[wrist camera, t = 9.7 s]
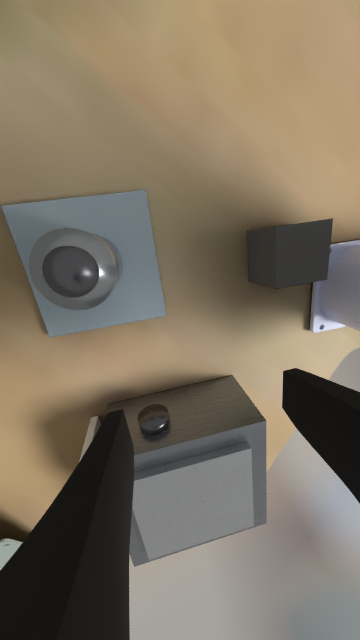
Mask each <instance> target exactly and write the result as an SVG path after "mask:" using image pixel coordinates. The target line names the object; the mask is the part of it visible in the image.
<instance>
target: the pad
mask: <svg viewBox="0 0 360 640" xmlns="http://www.w3.org/2000/svg"><path fill="white" fill-rule="evenodd" d="M1 207H2V210H3V212H4V215H5V218H6V220H7V223H8V226H9V229H10V231H11V234H12V237H13V239H14V242H15V245H16V248H17V250H18V253H19V256H20V258H21V261H22V264H23V266H24V269H25V272H26V275H27V277H28V280H29V283H30V285H31V288H32V291H33V294H34V296H35V299H36V302H37V304H38V307H39V310H40V312H41V315H42V318H43V321H44V323H45V326H46V329H47V331H48V334H49V337H55V336H61V335H66V334H71V333H77V332H82V331H87V330H93V329H98V328H103V327H109V326H114V325H119V324H125V323H130V322H136V321H141V320H146V319H152V318H157V317H162V316H166V310H165V304H164V298H163V291H162V285H161V279H160V273H159V267H158V261H157V255H156V249H155V243H154V237H153V231H152V225H151V219H150V213H149V207H148V201H147V195H146V190H139V191H130V192H121V193H112V194H103V195H94V196H85V197H76V198H67V199H58V200H49V201H39V202H30V203H21V204H12V205H3V206H1ZM58 228H75V229H79V230H83V231H86V232H89V233H93V234H96V235H99V236H102V237H104V238H106V239H108V240H109V241H110V242H112V243H113V244H114V245H115V247H116V248H117V249H118V251H119V253H120V255H121V258H122V262H123V270H122V274H121V277H120V279H119V281H118V282H117V284H116V286H115V287H114V289H113V290H112V292H111V293H110V295H109V296H108V297H107V299H106V300H105V301H103V302H102V303H101V304H99V305H98V306H96V307H93V308H90V309H87V310H69V309H65V308H61V307H59V306H57V305H55V304H53V303H51V302H50V301H49V300H47V299H46V298H45V297H44V296H43V295H42V294H41V293H40V292H39V291H38V290H37V288H36V287H35V285H34V283H33V281H32V278H31V276H30V271H29V256H30V252H31V250H32V248H33V246H34V244H35V243H36V241H37V240H38V239H39V238H40V237H41V236H43V235H44V234H46V233H47V232H49V231H52V230H55V229H58Z"/></svg>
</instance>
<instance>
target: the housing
mask: <svg viewBox="0 0 360 640" xmlns="http://www.w3.org/2000/svg"><path fill="white" fill-rule="evenodd" d="M121 409H123V410H124V414H125V417H126V421H127V424H128V428H129V432H130V435H131V439H132V442H133V446H134V488H133V503H132V518H131V532H130V548H129V553H130V556H131V559H132V561H133V564H134V566H138V565H141V564H144V563H147V562H150V561H153V560H156V559H159V558H162V557H165V556H168V555H171V554H174V553H177V552H180V551H183V550H186V549H189V548H192V547H195V546H199V545H201V544H205V543H208V542H211V541H214V540H217V539H220V538H223V537H226V536H229V535H232V534H235V533H238V532H241V531H244V530H247V529H250V528H253V527H256V526H259V525H262V524H265V523H266V420H265V418H264V417H263V416H262V414H261V413H260V412H259V410H258V409H257V408H256V406H255V405H254V404H253V402H252V401H251V400H250V398H249V397H248V395H247V394H246V393H245V391H244V390H243V389H242V387H241V386H240V385H239V383H238V382H237V381H236V379H235V378H234V377H233V375H232V376H228V377H223V378H219V379H215V380H210V381H206V382H202V383H197V384H193V385H189V386H184V387H180V388H176V389H171V390H167V391H163V392H158V393H154V394H150V395H145V396H141V397H137V398H132V399H128V400H124V401H119V402H115V403H111V404H108V409H107V413H108V412H112V411H116V410H121Z"/></svg>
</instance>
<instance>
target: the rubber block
mask: <svg viewBox="0 0 360 640" xmlns="http://www.w3.org/2000/svg"><path fill="white" fill-rule="evenodd" d="M332 222H333V219H326V220H320V221H313V222H306V223H299V224H292V225H285V226H278V227H272V228H265V229H259V230H252V231H247V241H248V274H249V281H250V282H253V283H257V284H260V285H263V286H267V287H270V288H274V289H279V288H285V287H290V286H295V285H301V284H306V283H312V282H317V281H323V280H327V277H328V266H329V255H330V244H331V233H332Z"/></svg>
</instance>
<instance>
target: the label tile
mask: <svg viewBox="0 0 360 640" xmlns="http://www.w3.org/2000/svg"><path fill="white" fill-rule="evenodd" d="M100 426H101V424H100V421H99V417H98V416H95V417H91V420H90V424H89V427H88V431H87V435H86V438H85V442H84V445H83V449H82V453H81V456H80V460H81V459H82V457H83V455H84V453H85V452H86V450H87V448H88V447H89V445H90V443H91V442H92V440H93V438H94V436H95V435H96V433H97V431H98V429H99V427H100ZM80 460H79V462H80Z"/></svg>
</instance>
